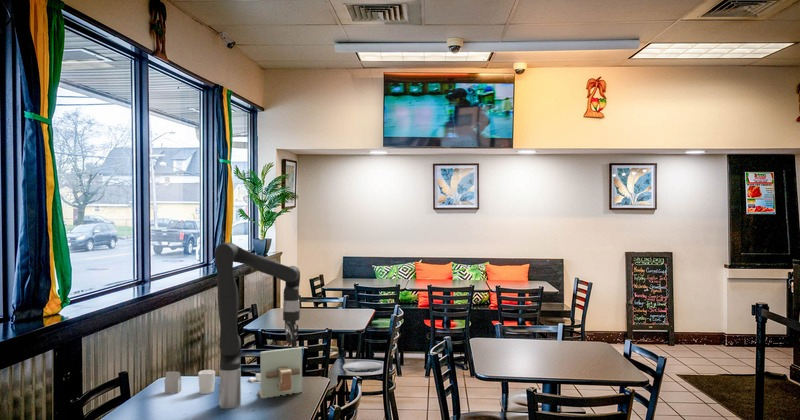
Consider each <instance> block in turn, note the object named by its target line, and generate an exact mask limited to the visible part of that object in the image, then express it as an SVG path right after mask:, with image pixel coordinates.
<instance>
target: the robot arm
mask: <svg viewBox="0 0 800 420" xmlns="http://www.w3.org/2000/svg"><path fill="white" fill-rule="evenodd" d="M214 260H215V267H216V275H217V276H216V277H217V280H216V281H217V283H216V284H217V288H216V289H217V305H218V306H217V307H218V317H219V323H220V325H219V326H220V330H219V331H220V335H219V344H218V346H219V351H220V357H219V384H218V406H219V407H220V409H233V408H239V407H240V406H241V405H242V403H241V402H242V394H241V393H242V389H241V388H242V387H241V385H242V383H241V382H242V381H241V379H242V377H241V376H242V372H241V371H242V370H241V369H242V366H241V364H242V363H241V362H242V360H241V359H242V340H241V336H240V335H239V333H238V316H239V308H240V306H239V305H240V302H239V301H240V300H239V288H238V285H237V282H236V279H235V276H234V263H238V264H242V265H246V266H248V267H250V268H252V269H254V271H255V270H256V271H258V272H260V273H262V274H265V275H269V276H271V277H275V278H276V279H279V280H280V281H283V282H285V286H284V289H283V302H282V320H283V321H284V333H285V336H286V343H287V344H291V348H297V344H298V343H297V341H298V338H299V324H297V322H298V321H299V320H300V313H301V312H300V307H301V306H300V282H301V271H300V269H299V268H298V266H294V265H289V266H288V265H284V264H281V263H280V262H279V261H277V260H275V259H271V258H268V257H266V256H263V255H259V254H255V253H253V252H251V251H248V250H246V249H244V248H243V247H241V246H238V245H236V244H235V243H232V242H223V243H220V244H218V245H217V246H216V247H215V250H214Z"/></svg>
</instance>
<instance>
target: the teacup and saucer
mask: <svg viewBox="0 0 800 420" xmlns="http://www.w3.org/2000/svg"><path fill="white" fill-rule="evenodd" d="M248 381H249V382H251V383H254V384H261V372H257V373H255V377H253V376H251V377H249V378H248Z"/></svg>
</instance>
